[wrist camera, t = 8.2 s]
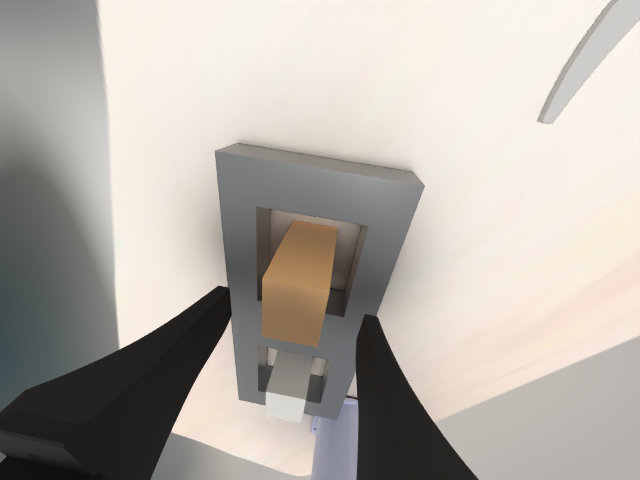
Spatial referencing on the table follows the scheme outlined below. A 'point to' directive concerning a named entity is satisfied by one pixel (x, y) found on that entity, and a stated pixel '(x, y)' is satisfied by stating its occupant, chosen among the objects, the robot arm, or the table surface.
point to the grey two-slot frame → (319, 201)
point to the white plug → (288, 386)
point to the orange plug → (299, 284)
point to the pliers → (591, 54)
